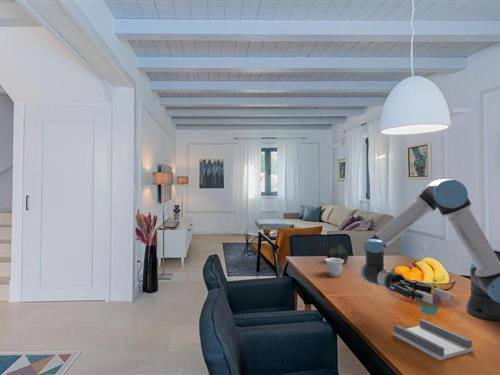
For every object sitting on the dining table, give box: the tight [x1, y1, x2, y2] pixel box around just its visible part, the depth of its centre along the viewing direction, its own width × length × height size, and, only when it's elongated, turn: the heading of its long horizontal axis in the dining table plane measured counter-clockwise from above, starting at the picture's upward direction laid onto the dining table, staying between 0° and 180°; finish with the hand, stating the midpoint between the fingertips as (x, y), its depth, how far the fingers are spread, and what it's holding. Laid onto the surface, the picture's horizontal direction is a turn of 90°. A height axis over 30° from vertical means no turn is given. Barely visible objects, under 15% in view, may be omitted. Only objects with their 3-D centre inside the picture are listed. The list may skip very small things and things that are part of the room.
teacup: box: [324, 257, 344, 278], centre depth 212 cm, size 12×15×10 cm
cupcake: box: [415, 281, 443, 316], centre depth 121 cm, size 9×8×12 cm
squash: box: [326, 244, 349, 265], centre depth 242 cm, size 14×15×15 cm
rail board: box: [392, 318, 473, 361], centre depth 121 cm, size 20×16×4 cm
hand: (440, 297), depth 116 cm, fingers closed on cupcake, 8 cm apart
